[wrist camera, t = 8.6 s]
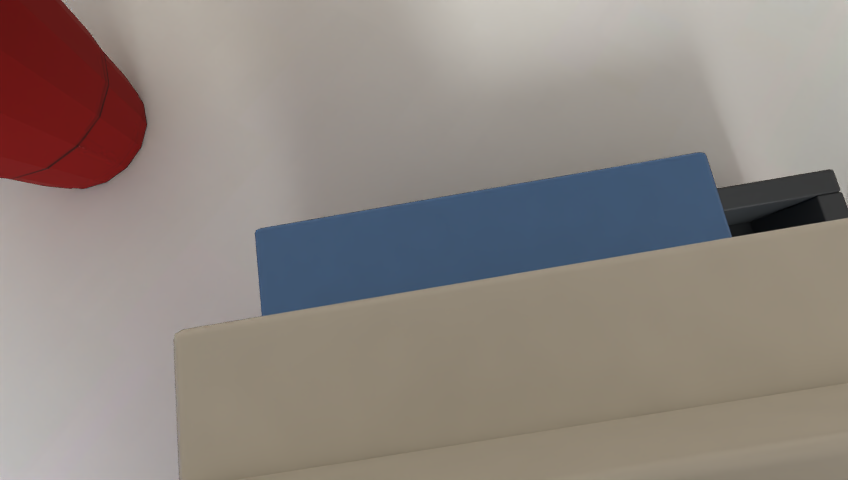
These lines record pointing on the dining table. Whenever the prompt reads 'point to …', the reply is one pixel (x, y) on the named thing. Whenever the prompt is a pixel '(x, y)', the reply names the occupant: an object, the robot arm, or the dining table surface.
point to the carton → (530, 342)
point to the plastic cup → (61, 100)
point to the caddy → (782, 203)
